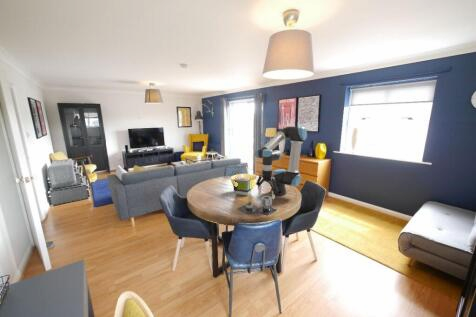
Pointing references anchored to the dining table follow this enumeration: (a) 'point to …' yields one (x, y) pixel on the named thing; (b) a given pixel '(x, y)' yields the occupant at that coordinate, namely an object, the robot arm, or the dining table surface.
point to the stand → (266, 210)
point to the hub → (249, 207)
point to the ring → (266, 200)
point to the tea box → (242, 186)
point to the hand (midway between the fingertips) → (266, 196)
